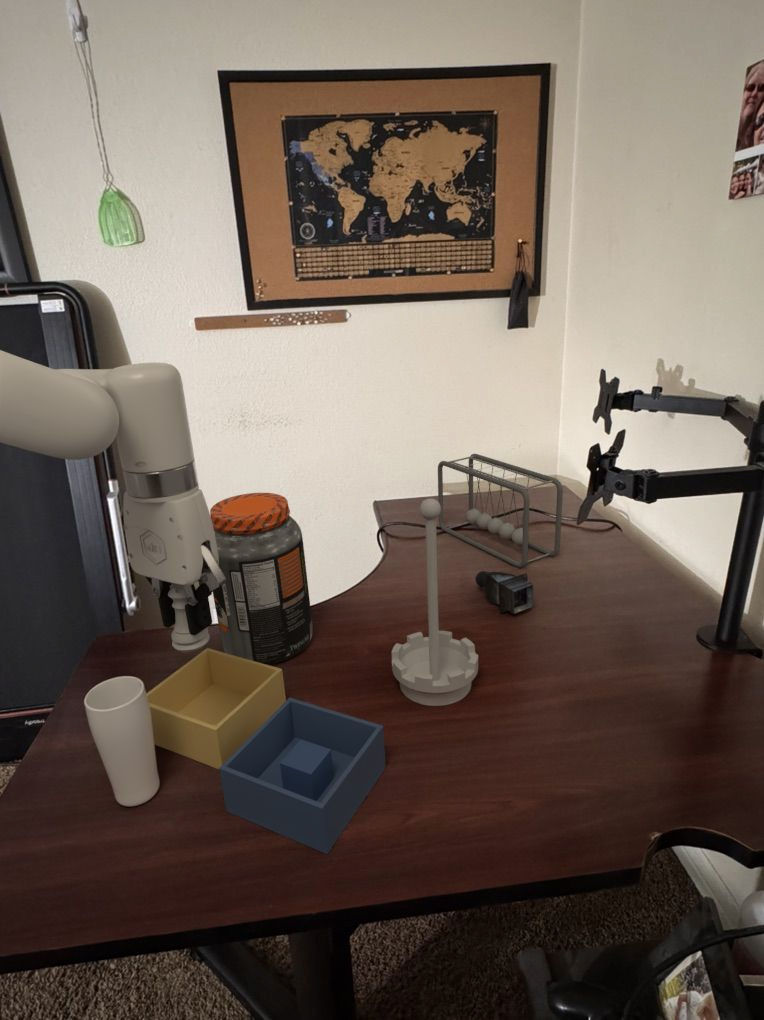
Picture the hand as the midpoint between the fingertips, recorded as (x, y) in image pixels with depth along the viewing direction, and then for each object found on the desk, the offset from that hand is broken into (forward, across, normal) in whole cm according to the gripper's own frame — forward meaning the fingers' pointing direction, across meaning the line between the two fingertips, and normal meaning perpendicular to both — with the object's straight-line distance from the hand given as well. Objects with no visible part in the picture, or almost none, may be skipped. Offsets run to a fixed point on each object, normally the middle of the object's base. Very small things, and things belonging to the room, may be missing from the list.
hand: (188, 624), depth 75 cm
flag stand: (+21, +19, +28) cm, 40 cm away
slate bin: (+21, +14, +2) cm, 25 cm away
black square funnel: (+21, +21, +56) cm, 64 cm away
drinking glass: (+21, -5, -8) cm, 23 cm away
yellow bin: (+21, -5, +7) cm, 23 cm away
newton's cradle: (+21, +10, +82) cm, 86 cm away
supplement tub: (+21, -12, +26) cm, 36 cm away
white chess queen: (+3, 0, 0) cm, 3 cm away
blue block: (+21, +14, +2) cm, 25 cm away
